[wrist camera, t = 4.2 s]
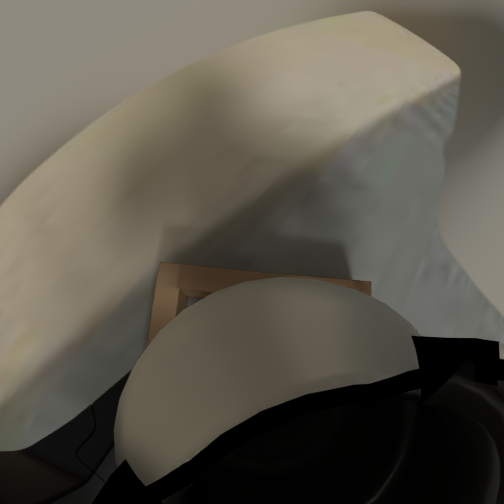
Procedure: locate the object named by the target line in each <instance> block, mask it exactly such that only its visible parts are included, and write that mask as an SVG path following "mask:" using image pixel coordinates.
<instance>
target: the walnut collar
mask: <svg viewBox="0 0 504 504" xmlns="http://www.w3.org/2000/svg"><path fill="white" fill-rule="evenodd" d="M275 277H289V278H307V279H316V280H320V281H325V282H329V283H333V284H337V285H341V286H345V287H349V288H352V289H356V290H359V291H361V292H363V293H365V294H367V295H369V296H371V281H358V280H345V279H333V278H320V277H309V276H297V275H286V274H275V273H264V272H253V271H243V270H232V269H222V268H212V267H203V266H193V265H184V264H174V263H165V262H160V264H159V270H158V276H157V281H156V287H155V294H154V300H153V307H152V314H151V321H150V328H149V336H148V345H147V347H148V346H149V344H150V343H151V342H152V340H153V339H154V338H155V336H156V335H157V334H158V332H159V331H160V330H161V329H162V328H164V327H165V326H166V325H167V324H168V323H169V322H170V321H171V320H173V319H174V318H175V317H176V316H177V315H178V314H179V313H181V312H182V311H183V310H184V309H186V308H187V301H188V297H189V298H197V299H203V298H205V297H207V296H208V295H210V294H212V293H213V292H216V291H219V290H222V289H225V288H228V287H231V286H234V285H237V284H240V283H243V282H246V281H253V280H261V279H268V278H275Z"/></svg>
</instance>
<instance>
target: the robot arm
mask: <svg viewBox="0 0 504 504" xmlns="http://www.w3.org/2000/svg"><path fill="white" fill-rule="evenodd" d="M131 371H132V370H131ZM131 371H129V372H128V373H127V374H126V375H125V376H124V377H122V378H121V379H120V380H119V381H118V382H117V383H115V384H114V385H113V386H112V387H111V388H110V389H108V390H107V391H106V392H105V393H104V394H102V395H101V396H100V397H99V398H98V399H97V400H95V401H94V402H93V403H92V404H91V405H89V406H88V407H87V408H86V409H85V410H83V411H82V412H81V413H80V414H78V415H77V416H76V417H74V418H73V419H72V420H70V421H69V422H68V423H66V424H65V425H63V426H62V427H60V428H59V429H57V430H56V431H54V432H52V433H51V434H49V435H48V436H46V437H45V438H43V439H41V440H40V441H38V442H37V443H35V444H33V445H31V446H29V447H27V448H25V449H21V450H17V451H0V504H92V502H93V501H94V499H95V498H96V496H97V495H98V493H99V492H100V490H101V489H102V487H103V486H104V484H105V483H106V481H107V480H108V478H109V476H110V475H111V474H112V473H113V472H114V471H115V470H116V469H117V464H116V460H115V445H114V426H115V420H116V415H117V409H118V404H119V399H120V397H121V394H122V392H123V390H124V387H125V385H126V383H127V380H128V378H129V376H130V374H131Z"/></svg>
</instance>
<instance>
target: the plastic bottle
mask: <svg viewBox="0 0 504 504" xmlns="http://www.w3.org/2000/svg"><path fill="white" fill-rule="evenodd" d="M114 445H115V460H116V464H117V469H116V470H115V471H114V472H113V473H112V474H111V475H110V476H109V478H108V480H107V481H106V483H105V484H104V486H103V487H102V489H101V490H100V492H99V493H98V495H97V496H96V498H95V499H94V501H93V502H92V504H504V344H502V343H500V342H498V341H490V340H483V339H477V338H441V337H423V336H421V335H420V334H419V333H418V331H417V330H416V329H415V328H414V327H413V325H412V324H411V323H410V322H409V321H407V320H406V319H405V318H403V317H402V316H401V315H400V314H398V313H397V312H396V311H395V310H393V309H392V308H391V307H389V306H388V305H387V304H385V303H383V302H381V301H379V300H377V299H375V298H373V297H371V296H369V295H367V294H365V293H363V292H361V291H359V290H356V289H352V288H349V287H345V286H341V285H337V284H333V283H329V282H325V281H320V280H316V279H307V278H289V277H275V278H268V279H261V280H253V281H246V282H243V283H240V284H237V285H234V286H231V287H228V288H225V289H222V290H219V291H216V292H213V293H212V294H210V295H208V296H207V297H205V298H203V299H201V300H200V301H198V302H196V303H194V304H193V305H191V306H189V307H187V308H186V309H184V310H183V311H182V312H181V313H179V314H178V315H177V316H176V317H175V318H174V319H173V320H171V321H170V322H169V323H168V324H167V325H166V326H165V327H164V328H162V329H161V330H160V331H159V332H158V334H157V335H156V336H155V338H154V339H153V340H152V342H151V343H150V344H149V346H148V347H147V348H146V350H145V351H144V352H143V354H142V355H141V356H140V358H139V359H138V361H137V363H136V364H135V366H134V367H133V369H132V371H131V374H130V376H129V378H128V380H127V383H126V385H125V387H124V390H123V392H122V394H121V397H120V399H119V404H118V409H117V415H116V420H115V426H114Z"/></svg>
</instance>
